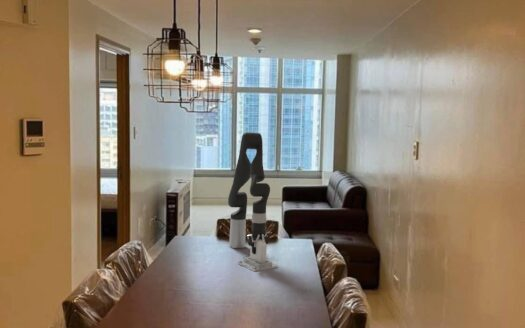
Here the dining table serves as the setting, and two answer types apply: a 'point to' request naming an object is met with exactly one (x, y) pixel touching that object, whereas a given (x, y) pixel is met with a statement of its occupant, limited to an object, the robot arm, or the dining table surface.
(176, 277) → the dining table surface
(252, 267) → the plate
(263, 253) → the photo printer
